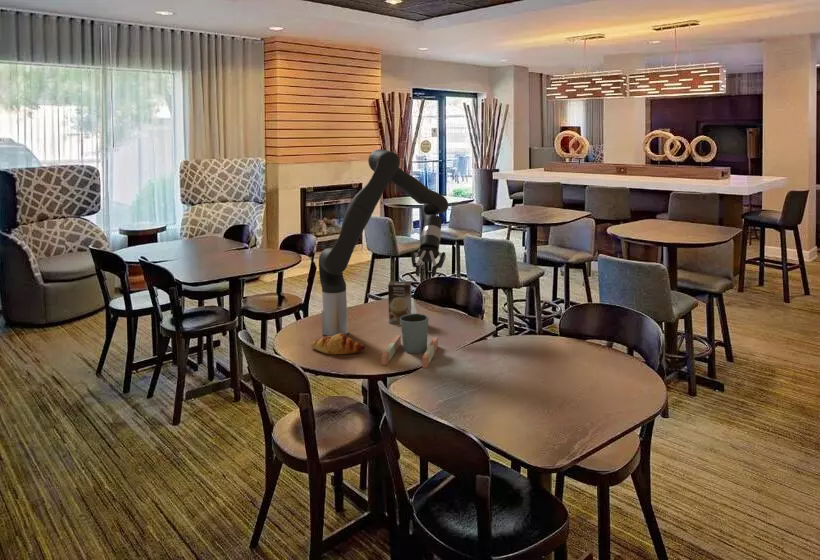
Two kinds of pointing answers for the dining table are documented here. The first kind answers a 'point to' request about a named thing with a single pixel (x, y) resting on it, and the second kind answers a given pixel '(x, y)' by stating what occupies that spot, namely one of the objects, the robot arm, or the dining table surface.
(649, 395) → the dining table surface
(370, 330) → the dining table surface
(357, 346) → the croissant
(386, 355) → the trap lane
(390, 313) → the coffee box
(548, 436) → the dining table surface
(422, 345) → the grey green cup
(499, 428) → the dining table surface
